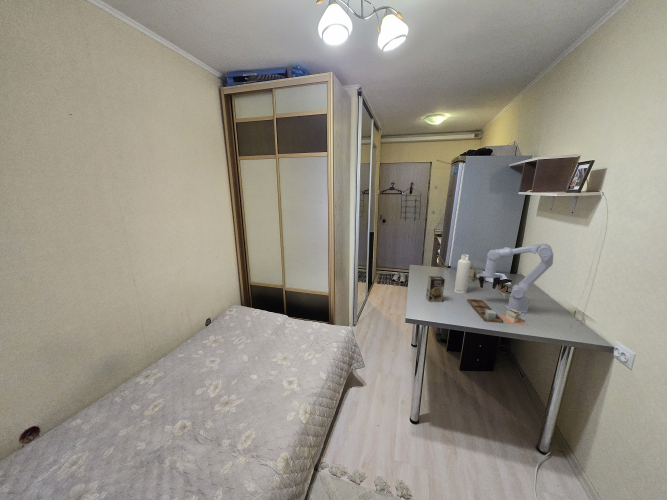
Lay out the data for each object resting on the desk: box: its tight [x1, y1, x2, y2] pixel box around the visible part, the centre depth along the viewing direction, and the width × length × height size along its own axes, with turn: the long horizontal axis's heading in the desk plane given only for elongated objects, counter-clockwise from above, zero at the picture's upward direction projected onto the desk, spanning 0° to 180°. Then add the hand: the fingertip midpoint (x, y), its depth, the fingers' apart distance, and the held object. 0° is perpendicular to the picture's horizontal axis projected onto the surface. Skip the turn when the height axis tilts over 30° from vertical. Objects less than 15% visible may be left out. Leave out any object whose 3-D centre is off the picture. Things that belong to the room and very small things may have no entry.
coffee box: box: [425, 275, 446, 303], centre depth 167 cm, size 9×6×16 cm
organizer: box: [466, 298, 504, 324], centre depth 153 cm, size 10×27×2 cm, turn 172°
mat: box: [498, 314, 528, 326], centre depth 143 cm, size 10×10×1 cm
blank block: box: [485, 309, 497, 319], centre depth 144 cm, size 4×4×4 cm
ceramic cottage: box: [468, 261, 486, 284], centre depth 203 cm, size 16×16×15 cm
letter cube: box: [505, 309, 522, 322], centre depth 142 cm, size 5×5×5 cm
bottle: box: [454, 253, 471, 295], centre depth 180 cm, size 8×8×28 cm
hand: (487, 288), depth 163 cm, fingers open, 7 cm apart
